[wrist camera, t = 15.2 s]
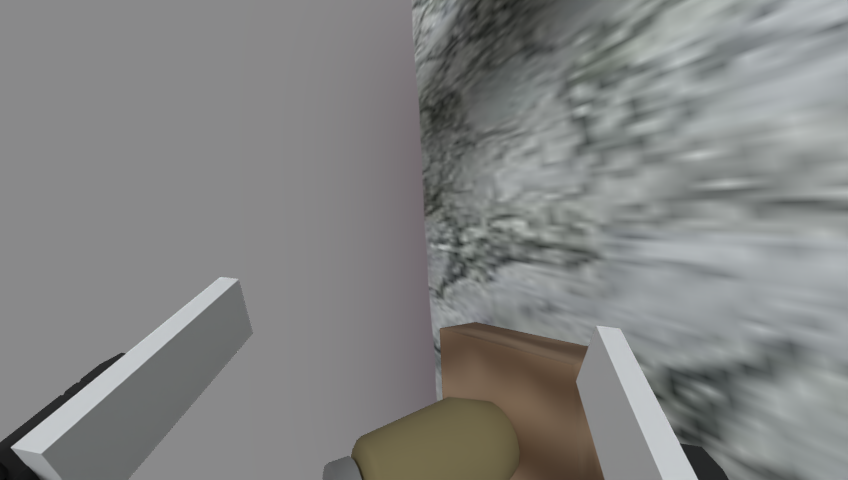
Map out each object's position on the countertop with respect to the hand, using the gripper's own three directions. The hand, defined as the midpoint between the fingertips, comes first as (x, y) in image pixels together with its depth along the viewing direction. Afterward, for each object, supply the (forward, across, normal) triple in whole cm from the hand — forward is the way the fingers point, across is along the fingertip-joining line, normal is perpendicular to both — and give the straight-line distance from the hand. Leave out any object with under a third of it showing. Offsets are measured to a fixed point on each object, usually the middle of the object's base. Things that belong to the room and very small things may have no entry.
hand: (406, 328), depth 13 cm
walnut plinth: (+12, +10, -21) cm, 26 cm away
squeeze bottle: (+10, +6, -20) cm, 23 cm away
